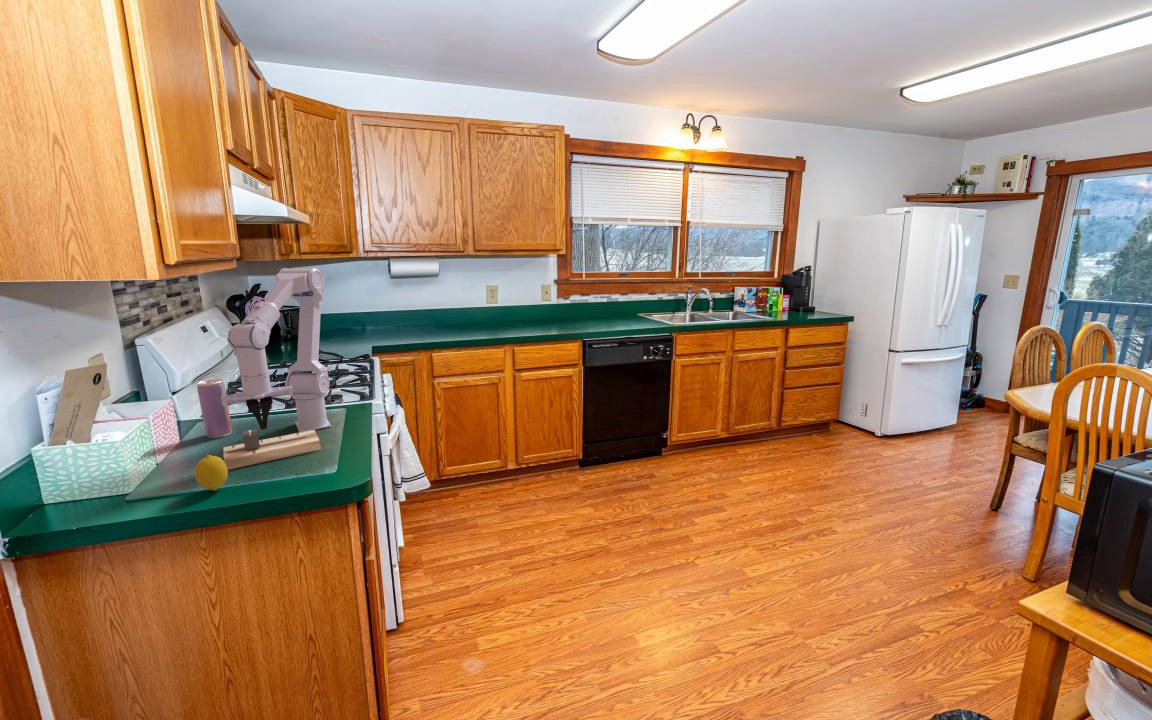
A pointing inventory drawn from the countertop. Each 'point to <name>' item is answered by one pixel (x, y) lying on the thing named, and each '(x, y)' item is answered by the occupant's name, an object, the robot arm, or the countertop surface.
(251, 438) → the fader
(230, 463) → the console
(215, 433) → the beverage can
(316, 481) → the countertop surface
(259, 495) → the countertop surface
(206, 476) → the lemon
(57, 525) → the countertop surface
